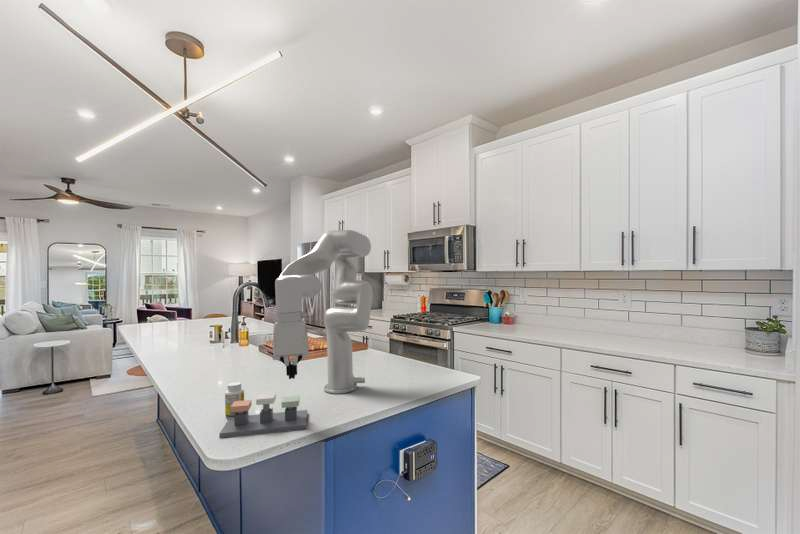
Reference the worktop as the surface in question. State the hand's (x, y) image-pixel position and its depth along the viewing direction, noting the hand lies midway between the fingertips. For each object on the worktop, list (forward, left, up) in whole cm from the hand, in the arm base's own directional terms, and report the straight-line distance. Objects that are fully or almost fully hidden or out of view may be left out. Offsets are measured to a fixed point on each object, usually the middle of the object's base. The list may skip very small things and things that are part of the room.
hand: (292, 377), depth 113 cm
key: (+14, +1, -11) cm, 18 cm away
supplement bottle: (+18, -9, -14) cm, 25 cm away
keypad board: (+7, +1, -13) cm, 15 cm away
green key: (0, +1, -11) cm, 11 cm away
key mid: (+7, +1, -9) cm, 12 cm away
